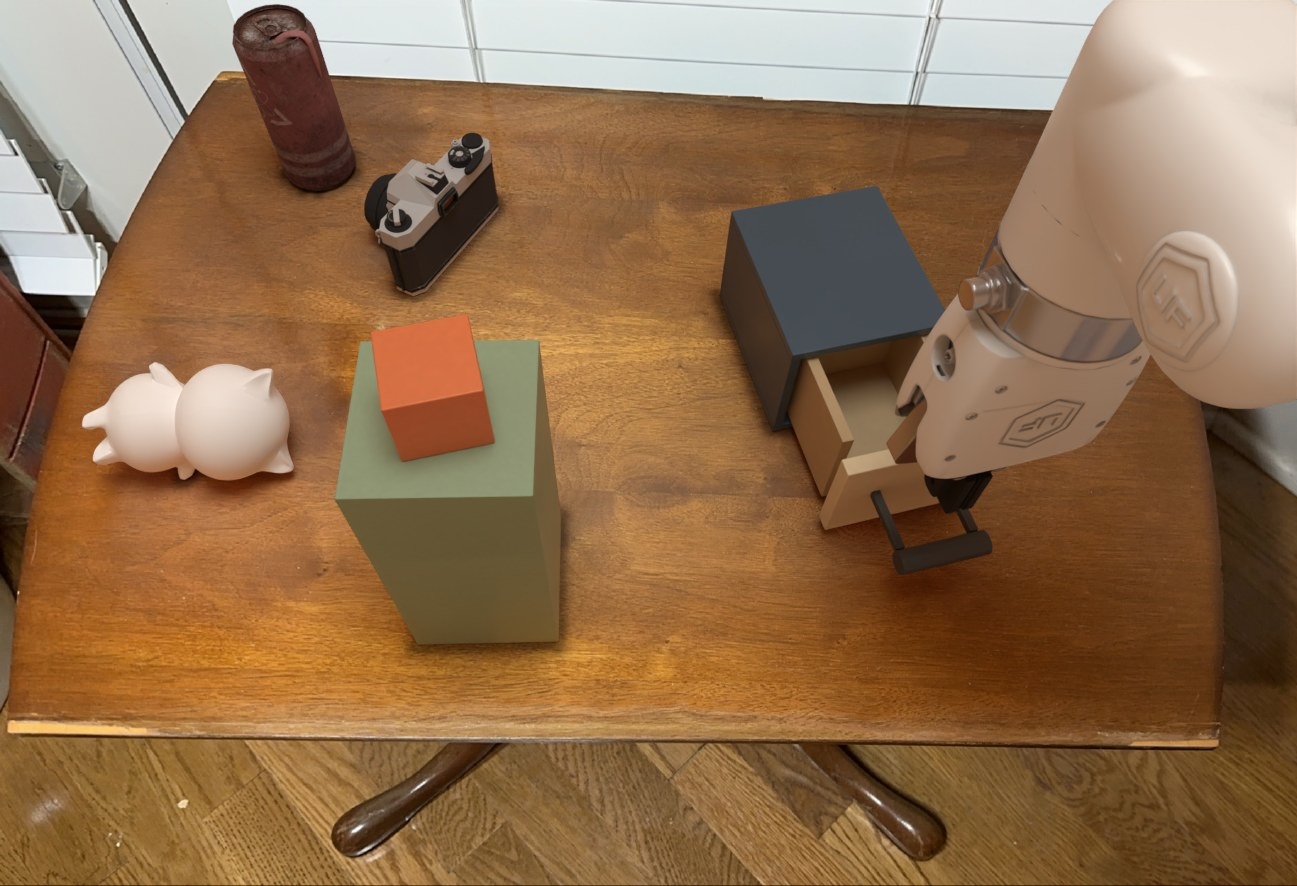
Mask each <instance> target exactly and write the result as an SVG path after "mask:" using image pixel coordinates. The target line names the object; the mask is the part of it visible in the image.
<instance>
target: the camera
mask: <svg viewBox="0 0 1297 886" xmlns="http://www.w3.org/2000/svg"><path fill="white" fill-rule="evenodd" d="M450 146H451V147H450V148H449V149H448V151H446V152H445V154H443V156H441V157H440V158H439V159H438V161H437V162H436V163H434V164H432V163H429V162H427V163H425V162H422V161H419V160H416V159H413V158H411V159H410V161H409V162H408V163H406V164H405V165H404V167H402V168H401V169H400V170H399V171H398V172H397V173H396V172H392V173H387V174H383V175H380V176H379V177H377V178H376V179H375V180H374V181H373V182H372V184H371V185H370V187H369V189H368V190H367V194H366V195H365V199H364V203H363V213H364V217H365V220H366V222H367V223H368V224H369V226H370V228H371V230H373V231H374V234H375V236H376V237H377V238H378V239H377V240H378V245H380V244H381V243H382V246H383V247H384V251H385V254H386V257H387V260H388V264H389V267H390V270H391V273H392V277H393V280H394V286H395V287H396V289H397V290H398V291H400V292H402V293H405V294H407V295H409V296H411V297H415V296H418V295H421V294H423V293H427V291H428V290H429V289H430V288H431V287H432V286H433V284H434V283H435V282H437V280H438V279H439V278H440V277H441V275H442V274H443V273H445V271H446V270H447V269H448V267H449V266H450V265H451V264H452V263H453V262H454V261H455V260H456V259H457V257H459V255H460V254H461V253H462V252H463V250H464V249H465V248H466V247H467V246H468V245H469V244H470V243H471V242H472V241H473V239H474V238H475V237H476V236H477V235H478V234H479V233H480V232H481V230H482V229H483V228H484V227H485V226H486V225H487V224H488V222H489V221H490V220H492V217H494V216H495V214H496V213H497V212H498V211H499V196H498V195H499V194H498V192H497V186H496V185H497V184H496V177H495V171H494V164H493V155H492V151H491V150H492V149H491V145H490V140H489V139H488V138H486V137H483V136H482V135H481V134H479V133H477V132H467V133H466V134H464V135H463V136H461V137H460V138H459V139H453V140H452V141H451V143H450Z"/></svg>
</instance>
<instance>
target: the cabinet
mask: <svg viewBox="0 0 1297 886" xmlns="http://www.w3.org/2000/svg"><path fill="white" fill-rule="evenodd" d="M730 212H731V213H730V218H729V226H728V232H727V240H726V246H725V254H724V261H723V268H722V275H721V282H720V291H719V299H720V301H721V304H722V306H723V308H724V312H725V313H726V316H727V318H728V322H729V324H730V326H731V329H732V332H733V334H734V337H735V339H736V342H737V344H738V347H739V350H740V351H741V354H742V357H743V359H744V362H745V364H746V367H747V369H748V372H749V375H750V377H751V380H752V382H753V385H754V388H755V390H756V393H757V395H758V398H759V400H760V403H761V406H762V408H763V410H764V413H765V416H766V418H767V421H768V423H769V426H770V428H771V431H772V432H777V431H781V430H786V429H791V428H793V425H792V423H791V421H790V418H789V416H788V413H787V407H788V404H789V400H790V397H791V393H792V390H793V386H794V382H795V379H796V375H797V372H798V368H799V365H800V361H801V359H805V358H810V357H815V356H820V355H825V354H830V353H835V352H840V351H845V350H849V349H854V348H859V347H864V346H869V345H874V344H879V343H884V342H889V341H894V340H899V339H903V338H908V337H913V336H918V335H923V334H928V333H930V332H931V331H932V329H933V327H934V326H935V324H936V323H937V321H938V320H939V318H940V317H941V316H942V314H943V313H944V311H945V310H946V308H945V306H944V305H943V303H942V301H941V299H940V298H939V296H938V294H937V292H936V290H935V288H934V286H933V285H932V283H931V281H930V279H929V278H928V276H927V274H926V272H925V270H924V268H923V266H922V265H921V263H920V261H919V259H918V257H917V256H916V254H915V252H914V250H913V248H912V246H911V244H910V243H909V241H908V239H907V238H906V235H905V234H904V232H903V230H902V228H901V227H900V225H899V223H898V221H897V219H896V218H895V215H894V214H893V212H892V210H891V208H890V206H889V205H888V203H887V201H886V199H885V197H884V195H883V194H882V192H881V190H880V188H879V186H878V185H872V186H866V187H861V188H855V189H850V190H845V191H839V192H832V193H827V194H820V195H815V196H810V197H809V196H808V197H804V198H799V199H798V198H797V199H793V200H786V201H781V202H777V203H770V204H764V205H758V206H751V207H748V208H747V207H746V208H741V209H735V210H731V211H730Z"/></svg>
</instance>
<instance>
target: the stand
mask: <svg viewBox="0 0 1297 886" xmlns="http://www.w3.org/2000/svg"><path fill="white" fill-rule="evenodd" d="M474 344H475V348H476V353H477V357H478V361H479V366H480V370H481V375H482V380H483V385H484V390H485V394H486V399H487V404H488V409H489V414H490V419H491V423H492V428H493V433H494V438H495V443H491V444H486V445H482V446H477V447H472V448H467V449H462V450H457V451H453V452H448V453H443V454H438V455H433V456H428V457H424V458H419V459H414V460H409V461H404V462H402V461H401V459H400V456H399V454H398V451H397V449H396V446H395V444H394V441H393V439H392V436H391V434H390V432H389V429H388V427H387V424H386V422H385V419H384V417H383V414H382V412H381V408H380V400H379V393H378V386H377V378H376V371H375V364H374V356H373V349H372V342H371V340H363V341H362V340H361V341H360V342H359V347H358V353H357V359H356V366H355V370H354V378H353V382H352V391H351V395H350V402H349V408H348V414H347V420H346V425H345V432H344V438H343V445H342V451H341V455H340V456H341V457H340V463H339V468H338V475H337V480H336V485H335V486H336V487H335V492H334V502H335V503H336V504H337V506H338V508H339V510H340V512H341V513H342V516H343V517H344V518H345V521H346V522H347V524H348V526H349V527H350V529H351V531H352V533H353V534H354V536H355V537H356V539H357V542H358V543H359V544H360V547H361V548H362V550H363V551H364V553H365V555H366V557H367V559H368V561H369V562H370V564H371V566H372V568H373V570H374V571H375V572H376V574H377V576H378V578H379V580H380V581H381V583H382V585H383V586H384V588H385V590H386V592H387V594H388V595H389V597H390V599H391V601H392V602H393V604H394V606H395V608H396V609H397V611H398V613H399V614H400V616H401V618H402V620H403V621H404V623H405V625H406V627H407V629H408V630H409V632H410V634H411V635H412V637H413V640H414V641H415V642H416V644H417V645H418V646H419V645H421V646H422V645H460V644H461V645H464V644H465V645H466V644H508V643H510V644H511V643H513V644H514V643H515V644H516V643H517V644H518V643H555V642H556V643H557V642H559V641H560V639H559V638H560V597H561V596H560V593H561V592H560V590H561V589H560V587H561V547H562V545H561V544H562V543H561V540H562V539H561V538H562V514H561V506H560V504H561V503H560V497H559V489H558V481H557V480H558V479H557V473H556V465H555V464H556V463H555V457H554V449H553V442H552V435H551V434H552V433H551V432H552V431H551V426H550V425H551V424H550V416H549V407H548V401H547V393H546V385H545V376H544V367H543V360H542V352H541V344H540V339H478V340H477V339H476V340H474Z"/></svg>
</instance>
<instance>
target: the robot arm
mask: <svg viewBox="0 0 1297 886" xmlns="http://www.w3.org/2000/svg"><path fill="white" fill-rule="evenodd" d="M1025 167H1026V168H1025V169H1024V172H1023V174H1022V177H1021V179H1020V181H1019V183H1018V185H1017V187H1016V189H1015V191H1014V194H1013V196H1012V198H1011V200H1010V202H1009V204H1008V207H1007V209H1006V211H1005V213H1004V215H1003V216H1002V218H1001V221H1000V223H999V225H998V226H997V229H996V232H995V234H994V236H993V238H992V241H991V242H990V245H989V246H988V249H987V251H986V253H985V255H984V258H983V260H982V261H981V263H980V266H979V268H978V270H977V272H976V275H975V276H974V277H971V278H964V279H962V280H961V281H959V283H958V288H957V294H956V296H954V298H953V299H952V301H951V302H950V303H948V306H947V307H946V308H945V311H944V313H943V314H942V316H941V317H940V318H939V320H938V321H937V323H936V324H935V326H934V327H933V329H932V331H931V332H930V334H929V335H928V337H927V338H926V340H925V342H924V343H923V345H922V347H921V348H920V350H919V352H918V354H917V356H916V358H915V359H914V361H913V363H912V365H911V367H910V369H909V371H908V373H907V375H906V377H905V379H904V381H903V384H902V386H901V389H900V391H899V394H898V397H897V400H896V405H895V414H896V415H897V416H901V417H906V418H905V420H904V421H903V422H902V423H901V425H900V426H899V427H898V428H897V430H896V431H895V432H894V433H893V435H892V436H891V437H890V438H889V440H888V441H887V443H886V445H887V447H888V449H889V451H890V453H891V455H892V458H893V460H894V462H895V463H896V464H906V463H916V462H918V463H919V465H920V467H921V469H922V470H923V472H924V473H925V474H924V480H925V484H926V487H927V489H928V491H929V493H930V494H931V495H932V496H933V497H937V499H938V501H939V503H938V504H940V507H941V510H942V511H943V512H944V514H946V515H949V514H953V513H956V511H957V509H958V508H959V509H960V508H961V509H962V510H966V509H969V510H970V509H973V508H974V506H975V504H976V503H977V501H978V500H979V499H980V497H981V495H983V492H984V491H985V490H986V489H987V486H988V485H989V483H990V482H991V481H992V479H993V478H994V475H993V473H992V472H994V473H995V472H1000V471H1002V470H1005V469H1006V468H1008V467H1011V466H1015V465H1019V464H1024V463H1028V462H1033V461H1037V460H1041V459H1045V458H1049V457H1053V456H1057V455H1061V454H1065V453H1068V452H1071V451H1075V450H1077V449H1080V448H1082V447H1084V446H1086V445H1088V444H1090V443H1091V442H1092V441H1093V440H1094V439H1095V438H1096V437H1097V436H1098V435H1099V434H1100V433H1101V432H1102V430H1103V429H1104V428H1105V427H1106V426H1107V424H1108V423H1109V421H1110V420H1111V418H1112V417H1113V416H1114V414H1115V413H1116V412H1117V410H1118V409H1119V408H1120V406H1121V404H1122V403H1123V401H1124V400H1125V399H1126V397H1127V396H1128V394H1129V393H1130V391H1131V390H1132V388H1133V386H1134V385H1135V383H1136V382H1137V380H1138V378H1139V377H1140V375H1141V373H1142V372H1143V370H1144V368H1145V367H1146V365H1147V362H1148V361H1149V359H1150V356H1151V357H1152V359H1153V361H1154V362H1155V363H1156V365H1157V366H1158V368H1159V369H1160V370H1161V371H1162V373H1164V375H1166V377H1167V378H1168V379H1170V380H1171V381H1172V383H1173V384H1175V386H1177V387H1178V388H1179V389H1180V390H1181V391H1183V392H1184V393H1186V394H1187V395H1189V396H1191V397H1193V398H1194V399H1196V400H1198V401H1200V402H1203V403H1205V404H1209V405H1212V406H1216V407H1220V408H1225V409H1233V410H1234V409H1235V410H1252V409H1262V408H1267V407H1272V406H1277V405H1283V404H1286V403H1291V402H1294V401H1297V2H1296V1H1294V0H1111V2H1109V3H1108V4H1107V6H1105V8H1104V9H1103V10H1102V11H1101V13H1100V14H1099V15H1098V16H1097V18H1096V19H1095V21H1094V23H1093V25H1092V28H1091V29H1090V31H1089V33H1088V35H1087V36H1086V39H1085V40H1084V43H1083V45H1082V47H1081V49H1080V51H1079V54H1078V56H1077V58H1076V60H1075V62H1074V64H1073V67H1072V69H1071V71H1070V73H1069V75H1068V77H1067V79H1066V82H1065V83H1064V86H1063V88H1062V90H1061V92H1060V94H1059V97H1058V98H1057V101H1056V103H1055V105H1054V107H1053V110H1052V112H1051V114H1050V116H1049V118H1048V121H1047V122H1046V125H1045V127H1044V129H1043V131H1042V133H1041V135H1040V138H1039V140H1038V142H1037V144H1036V147H1035V149H1034V150H1033V152H1032V154H1031V156H1030V158H1029V161H1028V163H1027V165H1026V166H1025Z"/></svg>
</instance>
